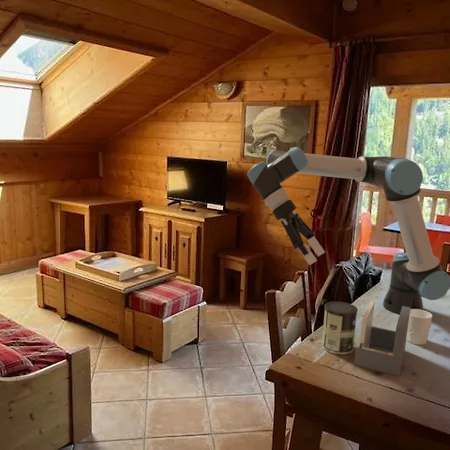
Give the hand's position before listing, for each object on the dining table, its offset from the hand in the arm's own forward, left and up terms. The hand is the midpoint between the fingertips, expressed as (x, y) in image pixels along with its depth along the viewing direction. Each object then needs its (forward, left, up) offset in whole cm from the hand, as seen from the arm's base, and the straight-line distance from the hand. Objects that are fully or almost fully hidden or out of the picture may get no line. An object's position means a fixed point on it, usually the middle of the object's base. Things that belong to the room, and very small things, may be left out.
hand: (317, 258), depth 148 cm
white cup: (-32, -19, -29) cm, 47 cm away
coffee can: (-9, 0, -29) cm, 30 cm away
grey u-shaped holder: (-22, 0, -29) cm, 36 cm away
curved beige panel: (-18, +2, -28) cm, 33 cm away
